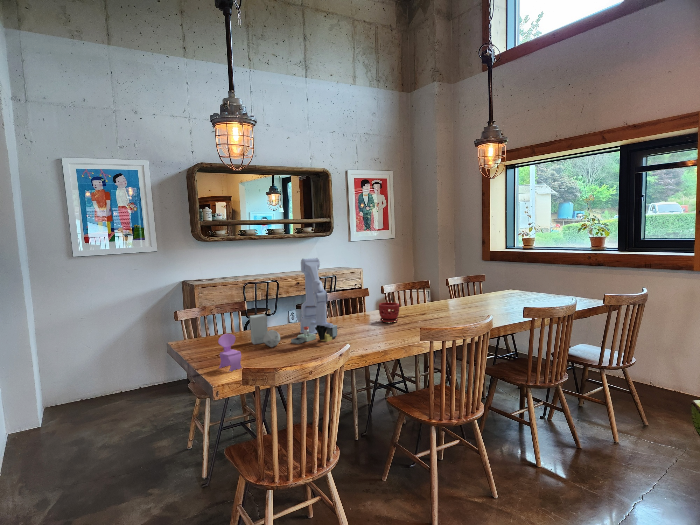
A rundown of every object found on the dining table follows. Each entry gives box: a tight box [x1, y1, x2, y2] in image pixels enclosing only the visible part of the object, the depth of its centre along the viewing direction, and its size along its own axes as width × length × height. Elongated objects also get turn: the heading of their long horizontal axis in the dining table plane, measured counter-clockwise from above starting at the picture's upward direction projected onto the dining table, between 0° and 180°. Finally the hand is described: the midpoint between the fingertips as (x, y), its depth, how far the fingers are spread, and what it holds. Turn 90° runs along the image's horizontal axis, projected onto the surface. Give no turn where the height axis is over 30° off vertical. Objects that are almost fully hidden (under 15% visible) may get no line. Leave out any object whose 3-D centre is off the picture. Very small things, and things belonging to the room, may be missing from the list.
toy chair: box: [217, 333, 243, 372], centre depth 183 cm, size 8×9×15 cm
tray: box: [297, 333, 317, 343], centre depth 229 cm, size 7×7×2 cm
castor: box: [325, 324, 338, 340], centre depth 231 cm, size 5×6×7 cm
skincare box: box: [249, 313, 269, 345], centre depth 226 cm, size 8×6×15 cm
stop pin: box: [303, 326, 309, 337], centre depth 229 cm, size 3×3×6 cm
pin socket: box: [290, 336, 306, 345], centre depth 224 cm, size 5×5×2 cm
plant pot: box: [378, 301, 400, 323], centre depth 268 cm, size 13×13×12 cm
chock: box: [319, 333, 333, 343], centre depth 227 cm, size 5×4×4 cm
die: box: [263, 329, 281, 348], centre depth 218 cm, size 8×9×10 cm
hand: (321, 339), depth 224 cm, fingers closed, pressing on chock
